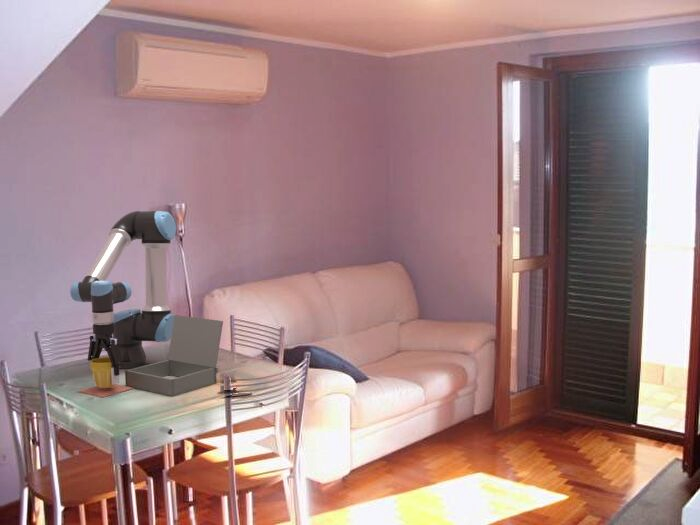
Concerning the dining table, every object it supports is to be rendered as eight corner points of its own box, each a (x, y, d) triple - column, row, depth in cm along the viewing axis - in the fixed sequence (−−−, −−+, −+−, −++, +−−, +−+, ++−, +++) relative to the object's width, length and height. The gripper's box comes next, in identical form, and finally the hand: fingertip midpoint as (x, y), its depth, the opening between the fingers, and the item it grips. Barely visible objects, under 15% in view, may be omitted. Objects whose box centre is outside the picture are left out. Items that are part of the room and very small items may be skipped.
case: (125, 386, 296) (122, 324, 294) (178, 371, 318) (176, 314, 315) (172, 396, 281) (169, 331, 279) (225, 380, 303) (223, 320, 300)
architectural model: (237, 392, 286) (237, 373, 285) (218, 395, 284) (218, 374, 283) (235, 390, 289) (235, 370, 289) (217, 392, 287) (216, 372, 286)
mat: (78, 392, 289) (78, 390, 289) (110, 383, 300) (110, 382, 300) (102, 397, 281) (102, 396, 281) (133, 388, 292) (133, 387, 292)
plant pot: (116, 380, 297) (115, 355, 296) (124, 386, 289) (122, 360, 288) (88, 384, 292) (87, 359, 291) (95, 390, 283) (94, 364, 282)
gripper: (75, 321, 292) (78, 379, 294) (114, 327, 278) (117, 388, 281) (92, 318, 298) (95, 375, 300) (131, 324, 284) (134, 383, 287)
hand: (106, 381), depth 290 cm, fingers closed on plant pot, 10 cm apart
